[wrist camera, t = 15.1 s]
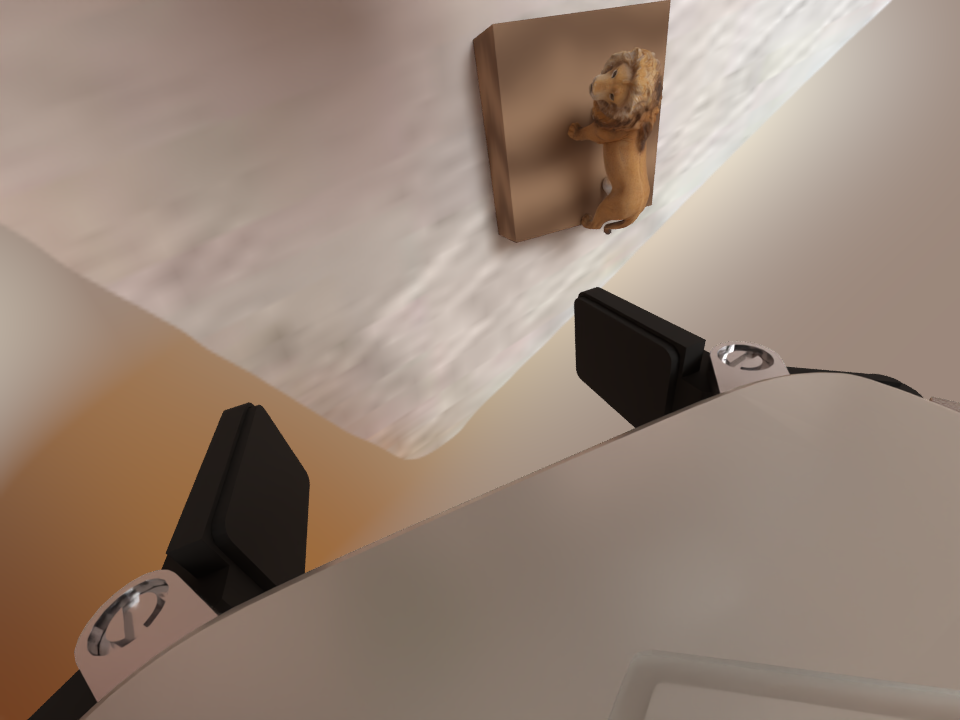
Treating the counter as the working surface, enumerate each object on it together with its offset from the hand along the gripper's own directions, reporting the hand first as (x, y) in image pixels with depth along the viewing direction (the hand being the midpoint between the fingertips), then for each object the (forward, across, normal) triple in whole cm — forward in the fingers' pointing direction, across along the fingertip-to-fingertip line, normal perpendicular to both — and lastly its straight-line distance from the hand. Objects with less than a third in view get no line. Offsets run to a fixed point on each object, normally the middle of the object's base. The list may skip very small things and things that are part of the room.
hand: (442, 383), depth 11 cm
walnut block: (+29, -21, -4) cm, 36 cm away
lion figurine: (+24, -21, -2) cm, 32 cm away
